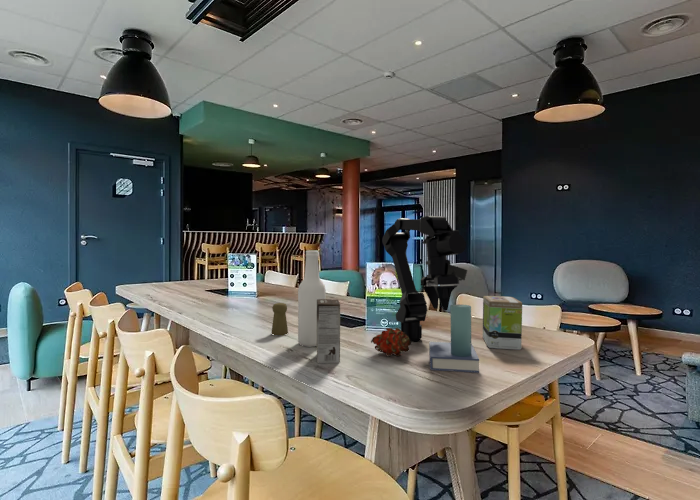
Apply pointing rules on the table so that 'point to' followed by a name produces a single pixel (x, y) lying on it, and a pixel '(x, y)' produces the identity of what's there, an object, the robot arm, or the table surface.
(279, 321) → the cork
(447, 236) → the robot arm
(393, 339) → the dragon fruit
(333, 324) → the coffee box
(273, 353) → the table surface
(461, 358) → the book
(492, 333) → the tea box
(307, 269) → the alcohol
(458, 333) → the teal smooth upright cylinder
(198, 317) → the table surface
